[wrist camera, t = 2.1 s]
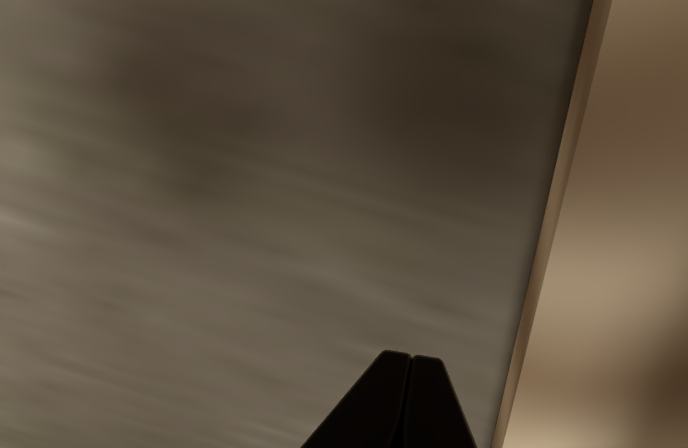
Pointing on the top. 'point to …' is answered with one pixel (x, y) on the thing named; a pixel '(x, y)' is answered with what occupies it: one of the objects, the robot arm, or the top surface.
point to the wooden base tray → (612, 250)
